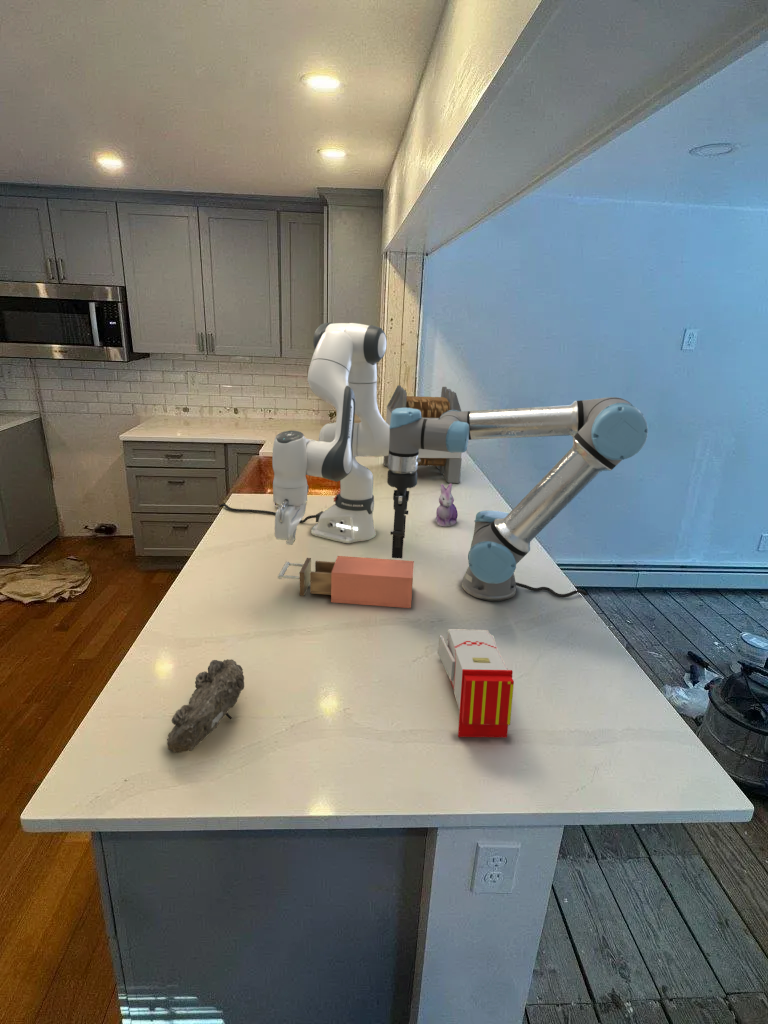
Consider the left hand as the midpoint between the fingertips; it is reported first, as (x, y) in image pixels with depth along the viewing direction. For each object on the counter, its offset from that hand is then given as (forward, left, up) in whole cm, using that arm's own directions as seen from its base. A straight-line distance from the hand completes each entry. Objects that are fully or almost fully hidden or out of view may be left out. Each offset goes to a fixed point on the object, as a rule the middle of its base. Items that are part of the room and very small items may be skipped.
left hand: (290, 542), depth 153 cm
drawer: (+10, +2, -13) cm, 17 cm away
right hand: (+28, +6, +1) cm, 29 cm away
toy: (+53, -28, -14) cm, 62 cm away
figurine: (+31, +69, -14) cm, 77 cm away
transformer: (+7, +131, -14) cm, 132 cm away
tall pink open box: (+22, +5, -14) cm, 27 cm away
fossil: (+8, -52, -14) cm, 55 cm away
